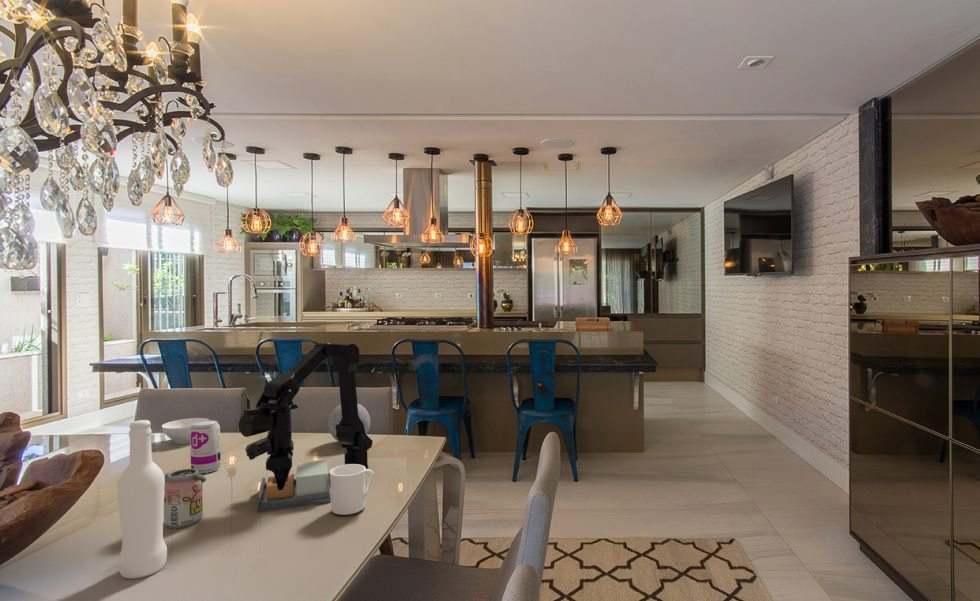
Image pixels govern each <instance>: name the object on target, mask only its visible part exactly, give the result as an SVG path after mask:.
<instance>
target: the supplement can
mask: <svg viewBox="0 0 980 601" xmlns="http://www.w3.org/2000/svg"><path fill="white" fill-rule="evenodd" d="M189 444H190V445H189V446H190V469H197V470H198V471H199V473H200V474H201V475H203V474H202V473H206V474H210V473H209V472H211V473H214V472H216V471H218V470H219V469H218V468H221V465H222V464H221V462H222V461H221V459H222V458H221V426H220V424H219V423H218V420H214V419H213V420H211V419H209V420H207V421H200V422H196V423H193V424H192V427H191V429H190V443H189ZM217 469H218V470H217ZM213 471H214V472H213Z"/></svg>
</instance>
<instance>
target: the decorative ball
mask: <svg viewBox="0 0 980 601" xmlns="http://www.w3.org/2000/svg"><path fill="white" fill-rule="evenodd" d="M357 405H358V416H359V418H360V419H361V421H362V422H363V424H364V427H365V432H366V435H367V434H368V432H369V430H370V428H371V427H370V426H371V417H370V414H369V411H368V410H367V409H366V407H364V406H363V405H362V404H360V403H358V402H357ZM341 419H342V411H341V404H339V405H337V406H336V407H335V408H333V410H331V413H330V414H329V418H328V424H327V425H328V426H327V427H328V430H329V433H330V435H331V437H332V438H333V439H334V440H336V441H337V442H339V441H338V437H336V424H339V423H340V421H341Z"/></svg>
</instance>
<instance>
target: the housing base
mask: <svg viewBox="0 0 980 601" xmlns="http://www.w3.org/2000/svg"><path fill="white" fill-rule="evenodd" d="M266 486H267V480H266V477H262V478H261V483H260V487H259V491H258V494H257V503H256V513H263V511H264V512H269V510H271V511H277V510H276V509H278V510H283V509H285V510H286V509H290V508H291V509H292V508H298V507H306V506H311V505H319V504H327V503H332V502H331V485H330V477H328V492H325V493H318V494H310V495H303V496H297V490H296V478H294V496H289V497H282V498H274V499H267V491H266Z"/></svg>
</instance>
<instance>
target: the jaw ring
mask: <svg viewBox="0 0 980 601" xmlns="http://www.w3.org/2000/svg"><path fill="white" fill-rule="evenodd" d="M294 479H295V474H294V473H292V474H290V473H289V475H288V477H287V480H286V483H285V485H284V488H283V490H278V486H277V483H276V479H275V476H274V475H273V476H268V478H267V480H266V482H267V486H266V491H267V499H274V498H282V497H289V496H294Z"/></svg>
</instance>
